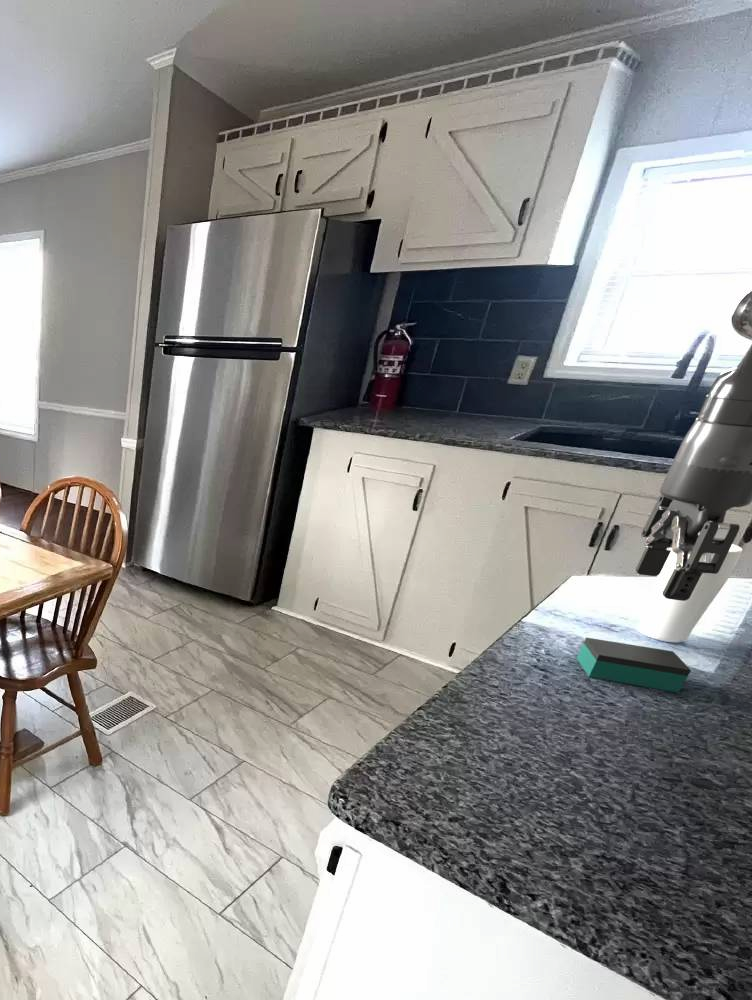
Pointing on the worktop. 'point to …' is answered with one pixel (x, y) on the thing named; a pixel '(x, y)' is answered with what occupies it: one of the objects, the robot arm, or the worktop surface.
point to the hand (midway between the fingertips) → (659, 586)
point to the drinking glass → (679, 616)
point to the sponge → (633, 664)
